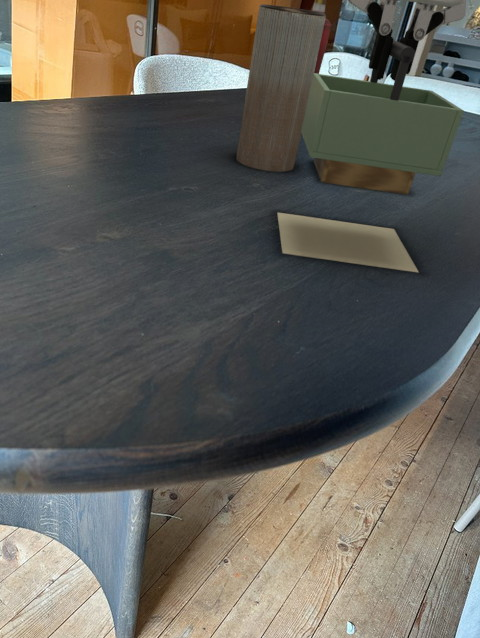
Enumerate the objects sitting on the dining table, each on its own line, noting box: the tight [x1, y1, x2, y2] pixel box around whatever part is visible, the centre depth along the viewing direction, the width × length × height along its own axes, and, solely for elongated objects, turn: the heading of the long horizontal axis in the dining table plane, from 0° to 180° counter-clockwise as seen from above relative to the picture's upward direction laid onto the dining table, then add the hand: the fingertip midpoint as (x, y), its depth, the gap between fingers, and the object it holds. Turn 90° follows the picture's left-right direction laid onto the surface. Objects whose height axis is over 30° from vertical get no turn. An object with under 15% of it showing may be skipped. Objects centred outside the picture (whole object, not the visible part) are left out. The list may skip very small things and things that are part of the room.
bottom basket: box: [313, 158, 416, 195], centre depth 97 cm, size 14×12×8 cm
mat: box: [277, 212, 420, 274], centre depth 74 cm, size 16×14×1 cm
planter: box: [236, 3, 327, 172], centre depth 94 cm, size 10×10×23 cm
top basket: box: [301, 39, 464, 177], centre depth 64 cm, size 14×12×11 cm
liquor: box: [311, 0, 332, 74], centre depth 139 cm, size 7×7×28 cm
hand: (386, 78), depth 63 cm, fingers closed on top basket, 1 cm apart
